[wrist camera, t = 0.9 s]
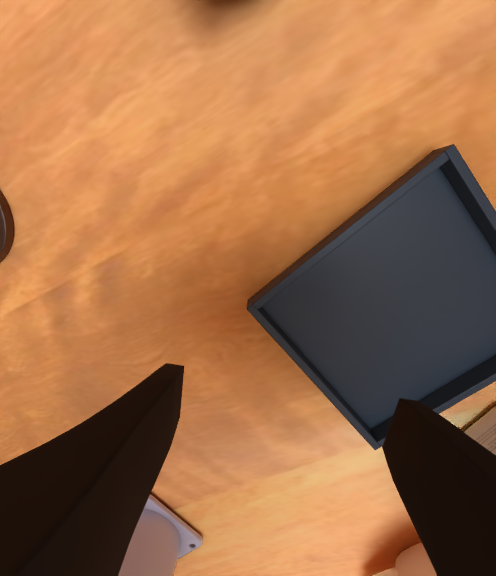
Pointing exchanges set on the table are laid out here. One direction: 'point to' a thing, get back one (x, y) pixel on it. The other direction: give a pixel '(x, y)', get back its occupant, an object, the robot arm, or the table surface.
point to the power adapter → (411, 563)
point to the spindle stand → (5, 228)
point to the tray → (395, 299)
